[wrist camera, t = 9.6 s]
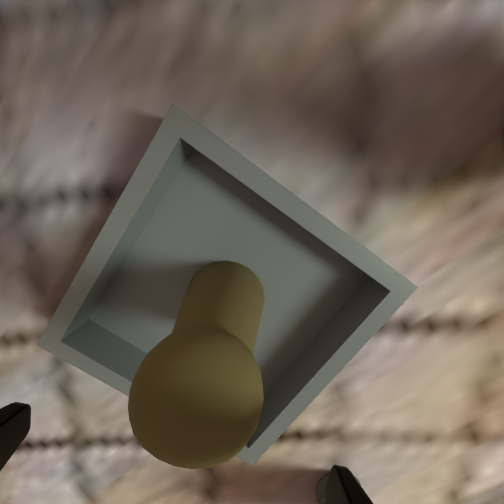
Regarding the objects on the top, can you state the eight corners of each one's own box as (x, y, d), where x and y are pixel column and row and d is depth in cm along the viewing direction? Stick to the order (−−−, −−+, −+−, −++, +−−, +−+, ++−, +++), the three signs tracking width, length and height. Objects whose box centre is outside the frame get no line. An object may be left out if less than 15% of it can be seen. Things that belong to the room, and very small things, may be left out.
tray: (384, 268, 19) (418, 287, 15) (252, 419, 23) (252, 465, 19) (191, 124, 17) (172, 103, 13) (78, 316, 20) (36, 344, 17)
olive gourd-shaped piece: (273, 322, 19) (297, 482, 9) (201, 341, 20) (138, 514, 9) (252, 251, 18) (248, 333, 7) (175, 272, 18) (65, 380, 8)
